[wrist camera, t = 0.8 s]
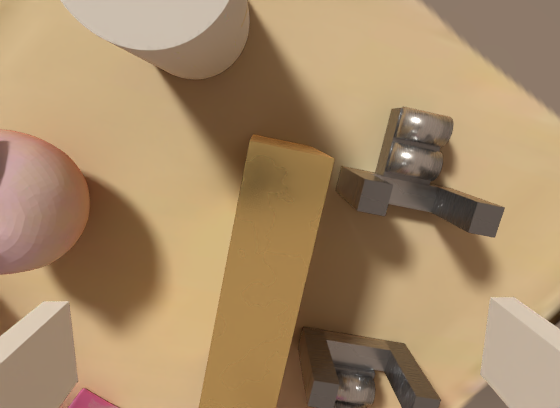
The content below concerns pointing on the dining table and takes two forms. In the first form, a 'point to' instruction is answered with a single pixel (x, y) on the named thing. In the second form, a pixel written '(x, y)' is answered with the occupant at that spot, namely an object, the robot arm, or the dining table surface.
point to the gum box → (89, 401)
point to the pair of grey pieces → (374, 199)
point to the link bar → (265, 272)
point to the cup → (171, 31)
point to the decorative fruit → (38, 202)
